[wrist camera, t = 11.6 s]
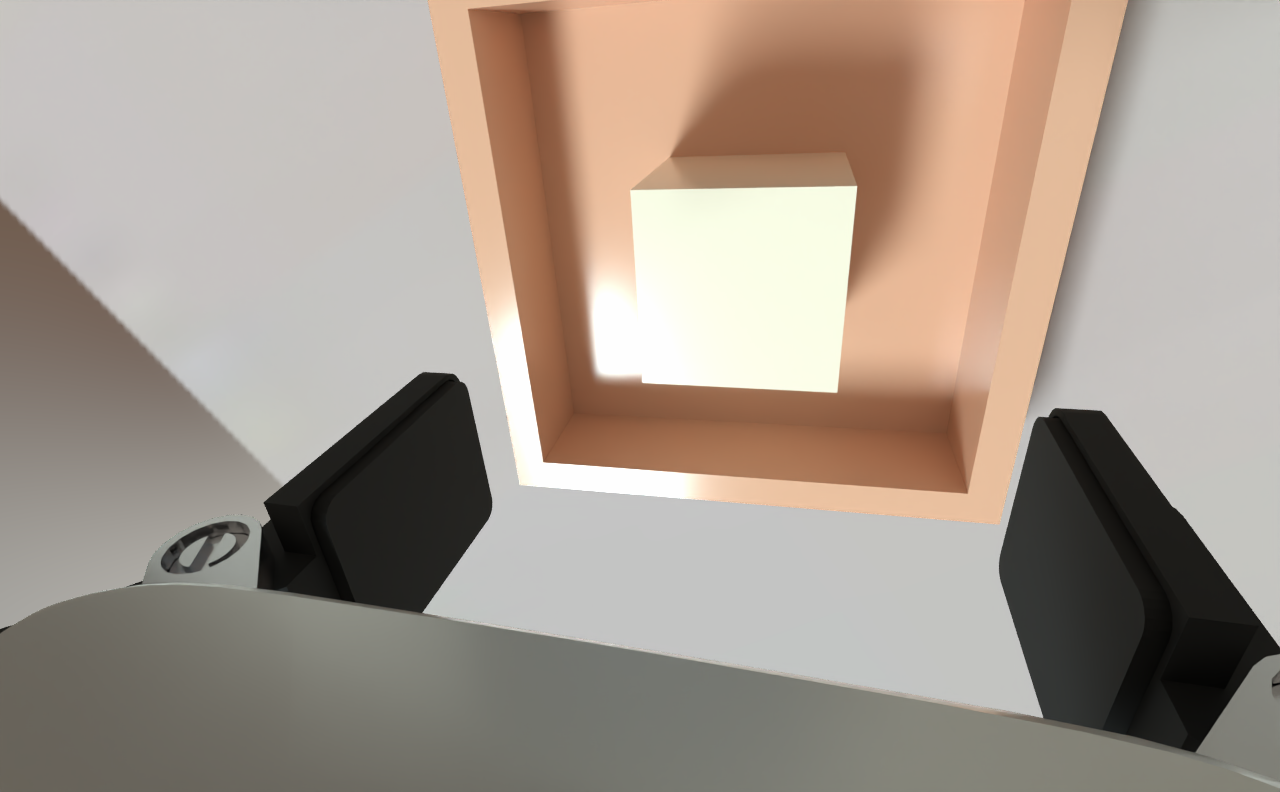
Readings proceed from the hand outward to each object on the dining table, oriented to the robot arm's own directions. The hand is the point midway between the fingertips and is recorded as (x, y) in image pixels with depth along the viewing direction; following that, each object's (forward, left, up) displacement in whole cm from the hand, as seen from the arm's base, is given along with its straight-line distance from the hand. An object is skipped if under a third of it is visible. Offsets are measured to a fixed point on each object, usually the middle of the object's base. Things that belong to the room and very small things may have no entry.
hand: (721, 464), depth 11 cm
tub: (+1, 0, -16) cm, 16 cm away
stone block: (+1, 0, -15) cm, 15 cm away
